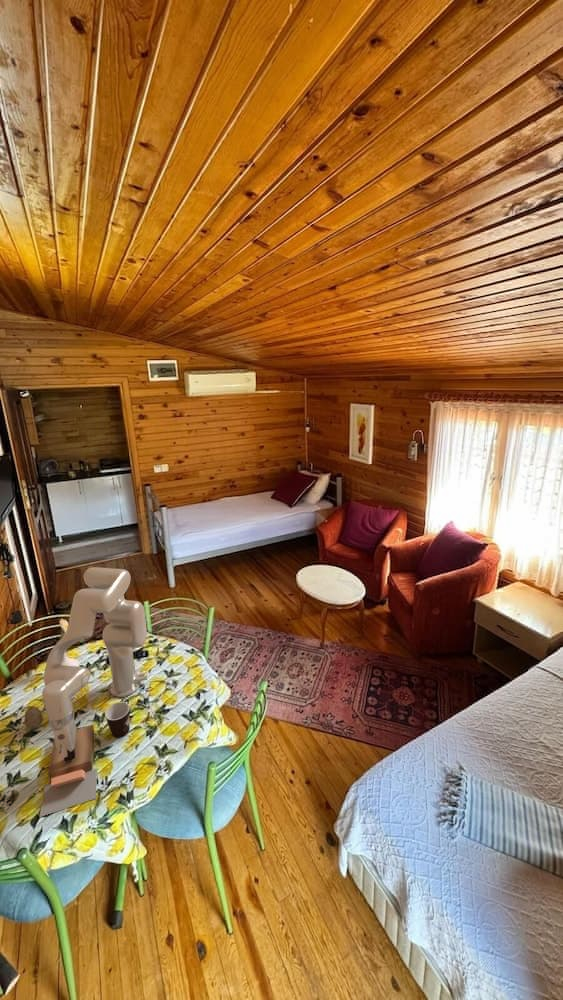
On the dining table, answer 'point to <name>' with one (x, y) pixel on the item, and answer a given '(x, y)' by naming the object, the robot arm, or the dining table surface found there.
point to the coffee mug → (118, 718)
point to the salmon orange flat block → (67, 778)
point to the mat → (69, 794)
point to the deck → (82, 754)
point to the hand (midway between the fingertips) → (70, 758)
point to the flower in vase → (65, 660)
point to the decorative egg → (33, 718)
